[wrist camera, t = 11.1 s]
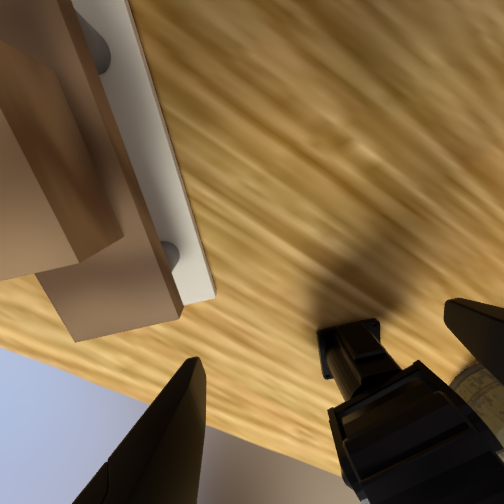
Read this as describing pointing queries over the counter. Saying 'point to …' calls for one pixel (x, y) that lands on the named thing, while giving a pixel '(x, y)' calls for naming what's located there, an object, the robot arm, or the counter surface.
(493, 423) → the thermos
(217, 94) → the counter surface
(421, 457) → the robot arm
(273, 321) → the counter surface
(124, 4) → the peg stand
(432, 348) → the counter surface
